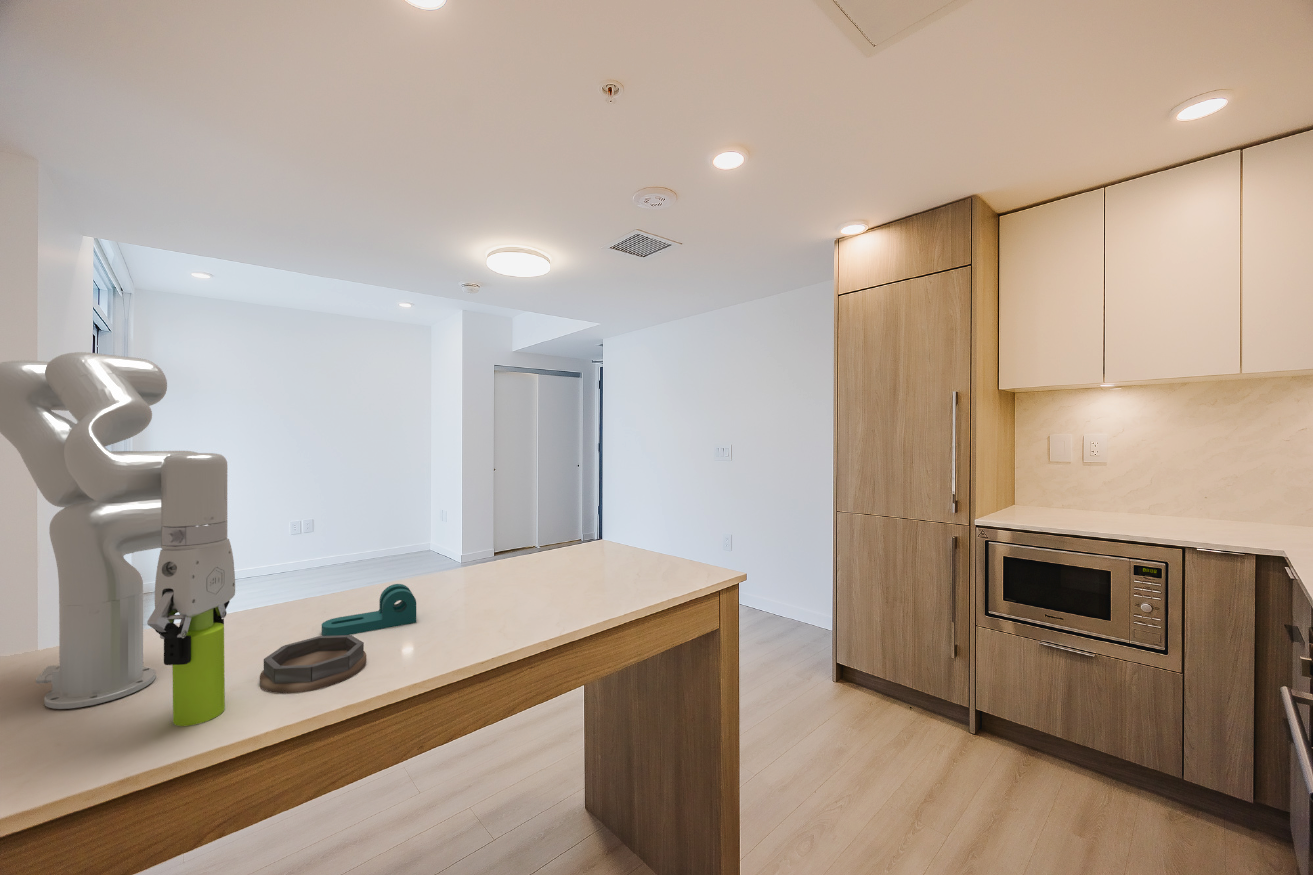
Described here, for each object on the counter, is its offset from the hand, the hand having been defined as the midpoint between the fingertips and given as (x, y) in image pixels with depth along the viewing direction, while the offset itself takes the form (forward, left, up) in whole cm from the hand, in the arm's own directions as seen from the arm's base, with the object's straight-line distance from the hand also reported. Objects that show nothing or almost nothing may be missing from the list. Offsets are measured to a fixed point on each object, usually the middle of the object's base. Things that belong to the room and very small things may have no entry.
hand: (195, 652), depth 79 cm
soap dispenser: (0, 0, -10) cm, 10 cm away
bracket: (+10, +36, -10) cm, 39 cm away
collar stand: (+10, +14, -10) cm, 20 cm away
